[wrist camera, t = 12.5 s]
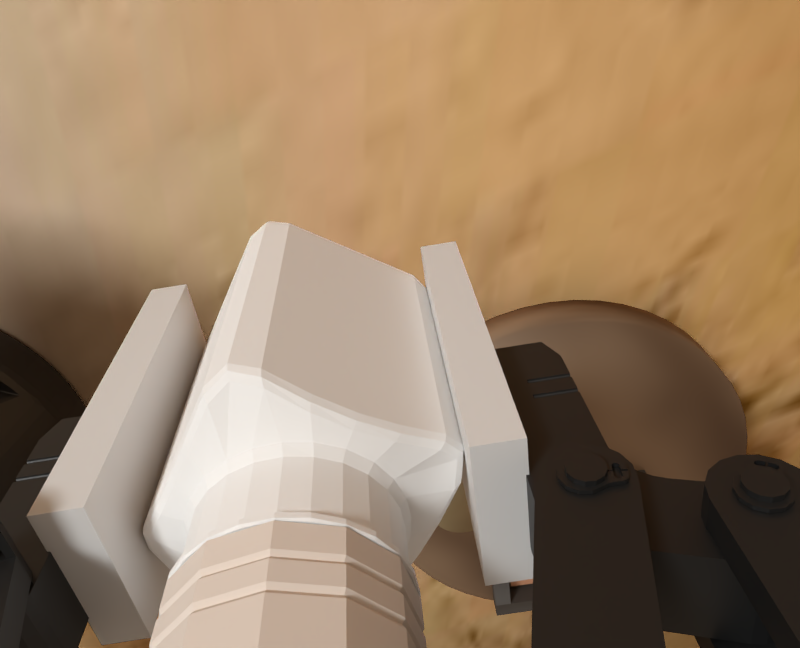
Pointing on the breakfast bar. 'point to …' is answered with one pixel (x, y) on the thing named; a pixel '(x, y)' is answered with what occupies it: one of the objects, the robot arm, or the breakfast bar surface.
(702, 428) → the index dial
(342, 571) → the pepper shaker
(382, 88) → the breakfast bar surface
